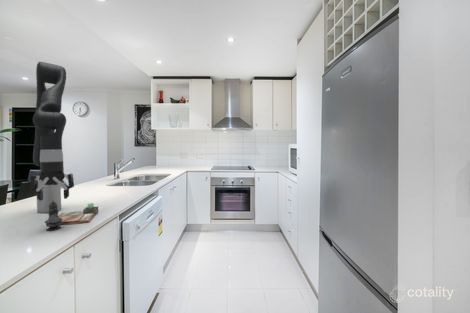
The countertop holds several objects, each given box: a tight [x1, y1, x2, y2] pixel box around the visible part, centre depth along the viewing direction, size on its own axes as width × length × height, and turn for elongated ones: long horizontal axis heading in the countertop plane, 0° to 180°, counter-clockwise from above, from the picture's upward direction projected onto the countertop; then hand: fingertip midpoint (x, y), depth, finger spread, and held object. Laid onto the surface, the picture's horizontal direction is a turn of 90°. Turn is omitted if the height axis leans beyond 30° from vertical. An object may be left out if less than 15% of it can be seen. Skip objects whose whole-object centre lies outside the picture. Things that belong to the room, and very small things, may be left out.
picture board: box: [58, 206, 99, 226], centre depth 111 cm, size 16×18×3 cm
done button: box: [87, 203, 95, 209], centre depth 117 cm, size 3×3×3 cm
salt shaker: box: [44, 201, 63, 232], centre depth 97 cm, size 6×6×12 cm
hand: (53, 199), depth 96 cm, fingers open, 8 cm apart
